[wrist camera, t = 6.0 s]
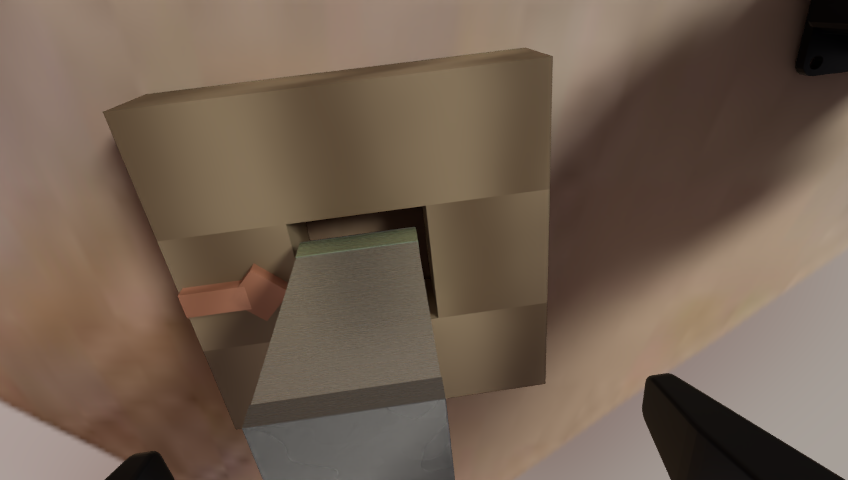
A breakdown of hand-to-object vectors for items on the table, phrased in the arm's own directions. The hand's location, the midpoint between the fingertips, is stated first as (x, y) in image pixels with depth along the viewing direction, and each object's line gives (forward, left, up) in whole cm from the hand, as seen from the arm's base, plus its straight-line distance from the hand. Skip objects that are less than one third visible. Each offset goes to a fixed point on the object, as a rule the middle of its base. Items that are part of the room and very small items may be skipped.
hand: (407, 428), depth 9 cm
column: (+1, +2, -9) cm, 9 cm away
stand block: (+1, +2, -12) cm, 12 cm away
